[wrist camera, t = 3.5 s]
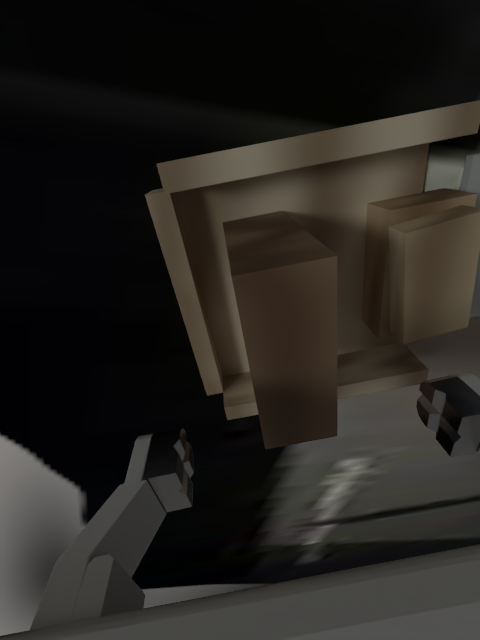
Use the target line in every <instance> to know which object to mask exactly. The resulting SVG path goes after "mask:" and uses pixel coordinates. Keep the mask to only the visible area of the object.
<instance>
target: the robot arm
mask: <svg viewBox="0 0 480 640" xmlns="http://www.w3.org/2000/svg"><path fill="white" fill-rule="evenodd" d="M419 390H420V391H421V392H422V395H421V396H420V397H419V398H418V400H417V410H418V414H419V416H420V418H421V420H422V422H423V423H424V424H425V426H426V427H427V428H429V429H431V430H433V431H435V432H436V440H437V441H438V442H439V443H440V444H441V446H442V447H443V448H444V449H445V451H446V452H447V453H448V454H449V456H450V457H452V456H458V455H464V454H470V453H476V452H478V454H479V455H480V378H478V377H477V376H476V375H475V374H473V373H470V372H467V373H462V374H457V375H453V376H446V377H441V378H437V379H432V380H427V381H423V382H422V383H421V384H420V389H419ZM193 473H194V458H193V452H192V448H191V445H190V444H189V443H187V442H186V433H185V431H184V429H178V430H172V431H166V432H160V433H154V434H149V435H144V436H139V437H138V438H137V440H136V441H135V445H134V449H133V453H132V457H131V460H130V464H129V468H128V472H127V476H126V480H125V484H122V485H119V487H118V488H117V489H116V490H115V491H114V493H113V494H112V495H111V496H110V497H109V499H108V500H107V501H106V502H105V503H104V505H103V506H102V507H101V508H100V510H99V511H98V512H97V513H96V514H95V516H94V517H93V518H92V519H91V520H90V522H89V523H88V524H87V525H86V526H85V528H84V529H83V530H82V531H81V533H80V534H79V535H78V536H77V537H76V538H75V540H74V541H73V542H72V543H71V545H70V546H69V547H68V548H67V549H66V551H65V552H64V553H63V554H62V555H61V557H60V558H59V559H58V560H57V562H56V563H55V565H54V568H53V570H52V573H51V576H50V578H49V581H48V584H47V586H46V589H45V591H44V594H43V597H42V599H41V602H40V605H39V607H38V610H37V612H36V615H35V618H34V620H33V623H32V626H31V628H30V630H29V631H24V632H19V633H13V634H8V635H3V636H0V640H480V545H475V546H470V547H465V548H460V549H454V550H449V551H444V552H438V553H433V554H428V555H423V556H417V557H412V558H407V559H402V560H396V561H391V562H386V563H381V564H375V565H370V566H365V567H360V568H354V569H349V570H344V571H339V572H333V573H328V574H323V575H318V576H312V577H307V578H302V579H297V580H291V581H286V582H281V583H276V584H270V585H265V586H260V587H255V588H249V589H244V590H239V591H234V592H228V593H223V594H218V595H213V596H208V597H203V598H197V599H192V600H187V601H181V602H176V603H171V604H165V605H160V606H155V607H150V608H144V609H143V606H144V599H145V594H144V593H143V591H142V590H141V589H140V588H139V586H138V585H137V584H136V583H135V582H134V581H133V580H132V579H131V577H132V576H133V574H134V572H135V570H136V568H137V567H138V565H139V563H140V561H141V559H142V557H143V556H144V554H145V552H146V550H147V548H148V546H149V545H150V543H151V541H152V539H153V537H154V536H155V534H156V532H157V530H158V528H159V526H160V525H161V523H162V521H163V519H164V517H165V515H166V513H165V512H170V511H174V510H179V509H183V508H188V507H192V496H193V484H192V482H191V480H190V477H191V476H192V474H193Z"/></svg>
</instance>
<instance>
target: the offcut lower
mask: <svg viewBox="0 0 480 640" xmlns="http://www.w3.org/2000/svg"><path fill="white" fill-rule="evenodd" d="M476 199H477V193H470V192H464V191H457V190H451V189H445V188H443V189H438V190H433V191H428V192H422V193H417V194H412V195H407V196H402V197H397V198H392V199H386V200H381V201H376V202H371V203H367V220H366V240H365V260H364V280H363V300H362V321H363V322H364V323H365V324H366V325H367V326H368V327H369V329H370V330H371V331H372V332H373V333H374V334H375V335H376V336H377V337H378V339H381V338H386V337H391V336H394V335H393V334H392V333H391V332H390V277H389V227H390V226H393V225H396V224H400V223H403V222H406V221H410V220H413V219H417V218H420V217H423V216H427V215H430V214H433V213H437V212H440V211H443V210H447V209H450V208H453V207H457V206H460V205H464V206H469V207H474V208H475V203H476Z"/></svg>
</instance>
